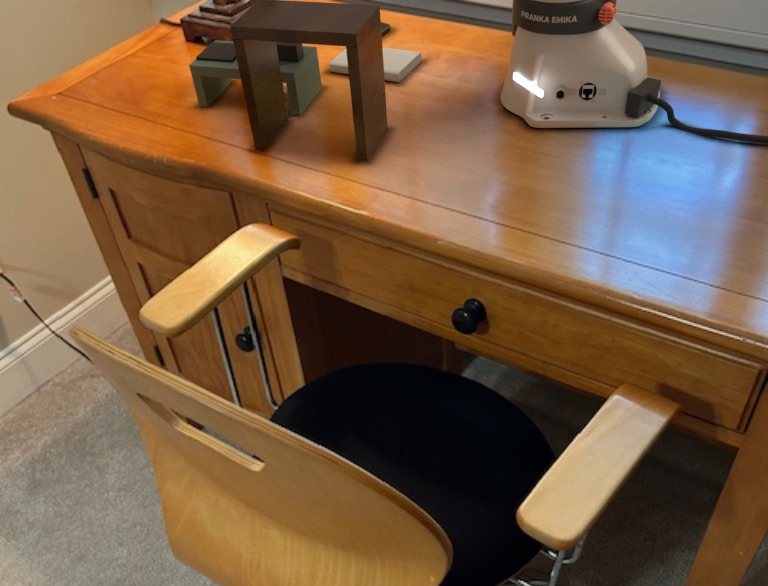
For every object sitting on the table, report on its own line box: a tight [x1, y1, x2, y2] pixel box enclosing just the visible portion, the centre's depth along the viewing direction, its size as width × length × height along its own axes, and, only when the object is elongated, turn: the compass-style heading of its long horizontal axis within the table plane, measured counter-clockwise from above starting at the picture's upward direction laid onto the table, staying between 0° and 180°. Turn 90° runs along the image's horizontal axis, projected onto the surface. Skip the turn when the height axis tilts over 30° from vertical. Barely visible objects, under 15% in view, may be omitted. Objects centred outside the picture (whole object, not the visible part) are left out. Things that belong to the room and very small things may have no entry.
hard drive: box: [328, 46, 423, 83], centre depth 126 cm, size 2×8×12 cm
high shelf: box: [229, 0, 389, 163], centre depth 106 cm, size 17×9×16 cm, turn 71°
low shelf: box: [188, 39, 323, 116], centre depth 120 cm, size 17×9×6 cm, turn 71°
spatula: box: [195, 41, 304, 63], centre depth 117 cm, size 16×6×2 cm, turn 71°
